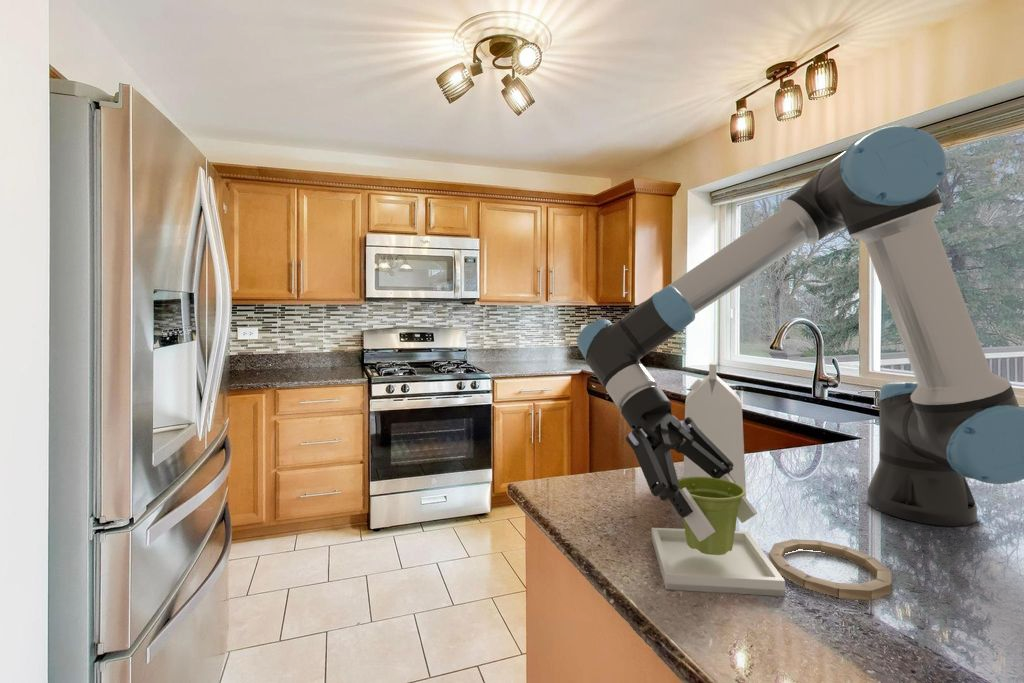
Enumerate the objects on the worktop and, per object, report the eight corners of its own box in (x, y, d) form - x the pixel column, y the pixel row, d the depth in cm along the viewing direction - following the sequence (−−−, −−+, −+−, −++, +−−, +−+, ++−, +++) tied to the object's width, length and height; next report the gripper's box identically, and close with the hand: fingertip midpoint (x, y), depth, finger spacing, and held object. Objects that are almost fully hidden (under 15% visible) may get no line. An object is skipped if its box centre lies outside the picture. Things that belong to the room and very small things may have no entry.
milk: (746, 500, 95) (745, 366, 93) (683, 494, 99) (681, 365, 98) (742, 481, 106) (741, 360, 105) (685, 476, 110) (684, 360, 109)
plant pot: (669, 530, 76) (668, 475, 75) (733, 533, 75) (733, 476, 74) (681, 560, 67) (681, 497, 66) (755, 563, 65) (755, 499, 65)
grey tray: (748, 544, 77) (748, 531, 77) (785, 596, 62) (785, 580, 62) (651, 539, 79) (651, 527, 79) (665, 589, 64) (665, 574, 64)
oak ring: (855, 549, 74) (855, 541, 74) (917, 602, 60) (917, 593, 60) (756, 545, 76) (756, 537, 76) (794, 595, 62) (794, 586, 62)
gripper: (669, 405, 89) (754, 520, 76) (577, 421, 76) (661, 561, 64) (694, 378, 84) (789, 496, 72) (601, 391, 72) (697, 536, 59)
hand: (729, 527), depth 68 cm, fingers closed on plant pot, 9 cm apart
